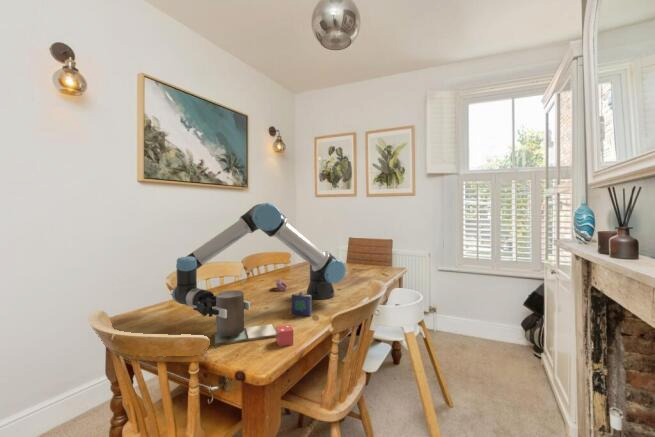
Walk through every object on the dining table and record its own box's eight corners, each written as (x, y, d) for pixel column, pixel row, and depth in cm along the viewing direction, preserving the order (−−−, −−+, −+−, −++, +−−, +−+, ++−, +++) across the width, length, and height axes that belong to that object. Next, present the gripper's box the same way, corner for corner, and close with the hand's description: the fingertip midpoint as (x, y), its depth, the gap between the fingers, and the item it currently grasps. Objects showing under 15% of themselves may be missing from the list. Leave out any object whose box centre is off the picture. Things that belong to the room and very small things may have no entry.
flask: (312, 315, 134) (312, 290, 133) (310, 317, 131) (310, 292, 131) (292, 313, 136) (292, 289, 136) (290, 315, 133) (290, 291, 133)
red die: (289, 338, 109) (289, 324, 109) (293, 344, 104) (293, 329, 104) (276, 340, 107) (276, 326, 107) (278, 346, 102) (278, 331, 102)
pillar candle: (249, 328, 112) (249, 288, 112) (231, 338, 103) (230, 294, 103) (229, 324, 116) (229, 285, 116) (209, 333, 107) (209, 291, 107)
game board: (273, 325, 121) (273, 323, 121) (278, 336, 110) (278, 334, 110) (214, 333, 113) (214, 331, 113) (214, 346, 103) (214, 343, 103)
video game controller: (280, 289, 181) (275, 279, 181) (287, 286, 182) (282, 275, 181) (279, 294, 172) (273, 283, 171) (286, 290, 172) (281, 279, 171)
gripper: (224, 301, 129) (261, 311, 116) (173, 316, 111) (210, 330, 98) (224, 284, 129) (261, 292, 116) (172, 296, 110) (210, 307, 98)
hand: (238, 310), depth 107 cm, fingers closed on pillar candle, 9 cm apart
